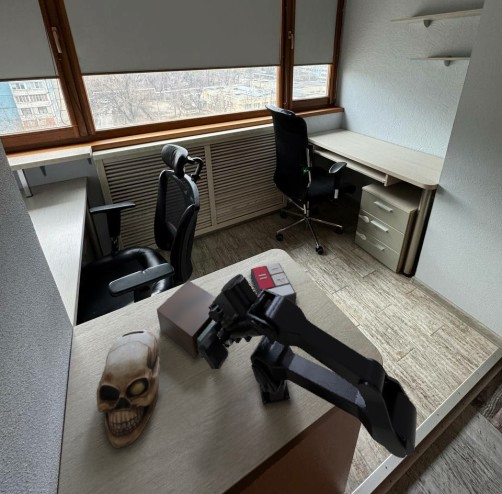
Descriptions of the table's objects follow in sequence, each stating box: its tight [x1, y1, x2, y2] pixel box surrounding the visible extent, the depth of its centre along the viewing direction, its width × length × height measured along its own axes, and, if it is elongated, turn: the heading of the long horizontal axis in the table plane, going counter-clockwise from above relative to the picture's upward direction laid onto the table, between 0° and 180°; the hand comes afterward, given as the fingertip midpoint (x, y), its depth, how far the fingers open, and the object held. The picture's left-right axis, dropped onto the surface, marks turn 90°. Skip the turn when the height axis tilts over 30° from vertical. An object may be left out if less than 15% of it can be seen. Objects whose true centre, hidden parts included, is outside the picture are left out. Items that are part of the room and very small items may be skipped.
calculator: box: [250, 262, 297, 307], centre depth 90 cm, size 11×4×15 cm
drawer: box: [195, 317, 217, 361], centre depth 75 cm, size 14×11×7 cm
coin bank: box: [96, 329, 161, 449], centre depth 62 cm, size 16×17×13 cm
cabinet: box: [156, 279, 217, 360], centre depth 77 cm, size 14×12×9 cm
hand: (215, 328), depth 71 cm, fingers closed, pressing on drawer
